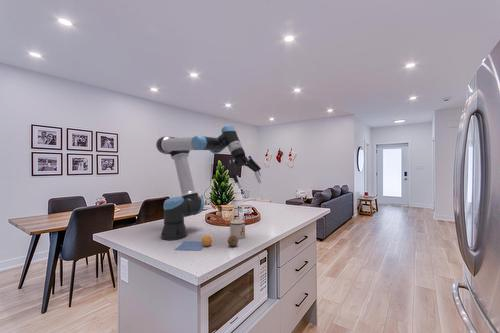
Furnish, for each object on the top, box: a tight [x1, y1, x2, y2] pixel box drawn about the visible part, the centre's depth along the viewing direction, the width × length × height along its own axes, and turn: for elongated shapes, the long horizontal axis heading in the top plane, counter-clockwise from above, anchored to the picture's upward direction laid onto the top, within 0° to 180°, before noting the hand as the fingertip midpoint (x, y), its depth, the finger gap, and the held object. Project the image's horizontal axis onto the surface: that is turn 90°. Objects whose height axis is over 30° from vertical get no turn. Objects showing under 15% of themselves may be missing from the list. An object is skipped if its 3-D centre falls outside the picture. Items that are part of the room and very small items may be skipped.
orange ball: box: [201, 234, 213, 247], centre depth 125 cm, size 6×6×6 cm
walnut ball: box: [227, 236, 239, 247], centre depth 124 cm, size 6×6×6 cm
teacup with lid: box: [229, 216, 246, 240], centre depth 142 cm, size 12×9×12 cm
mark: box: [174, 240, 206, 251], centre depth 126 cm, size 14×14×1 cm
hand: (250, 185), depth 126 cm, fingers open, 13 cm apart
